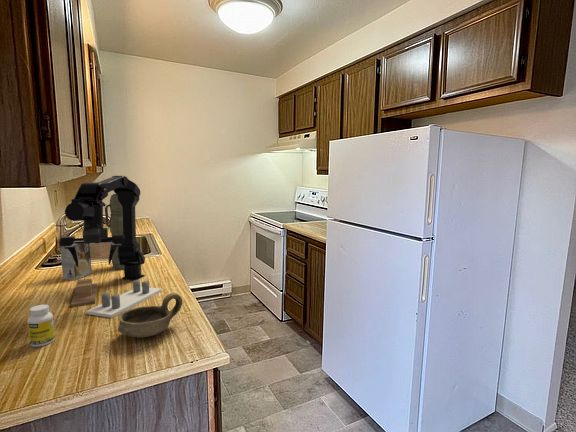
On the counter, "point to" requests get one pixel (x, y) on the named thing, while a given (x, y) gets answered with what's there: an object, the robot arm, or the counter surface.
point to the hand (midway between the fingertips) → (93, 265)
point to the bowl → (149, 318)
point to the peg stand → (123, 300)
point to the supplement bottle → (40, 326)
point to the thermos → (115, 226)
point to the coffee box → (69, 264)
